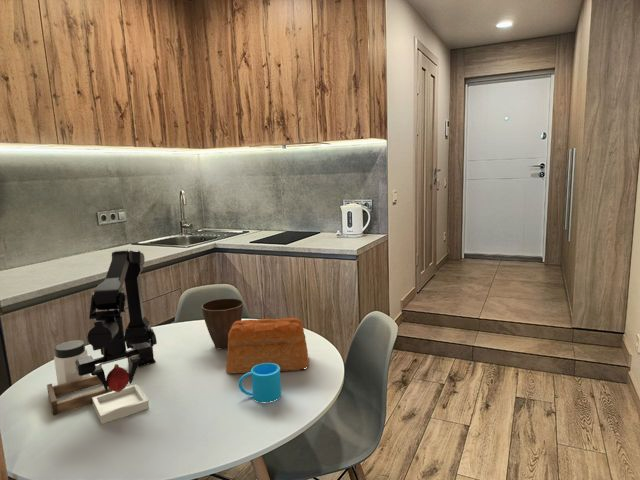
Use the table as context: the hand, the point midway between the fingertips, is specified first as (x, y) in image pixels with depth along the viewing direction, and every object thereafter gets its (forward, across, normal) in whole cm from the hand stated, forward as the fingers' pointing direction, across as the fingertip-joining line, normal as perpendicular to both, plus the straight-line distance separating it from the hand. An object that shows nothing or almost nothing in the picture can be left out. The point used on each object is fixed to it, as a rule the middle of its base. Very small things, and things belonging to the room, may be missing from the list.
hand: (118, 386), depth 120 cm
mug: (+6, -33, +20) cm, 39 cm away
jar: (+6, +8, -26) cm, 28 cm away
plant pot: (+6, -41, -21) cm, 46 cm away
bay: (+6, +8, -13) cm, 16 cm away
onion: (+2, 0, 0) cm, 2 cm away
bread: (+6, -45, +4) cm, 46 cm away
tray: (+6, 0, 0) cm, 6 cm away
